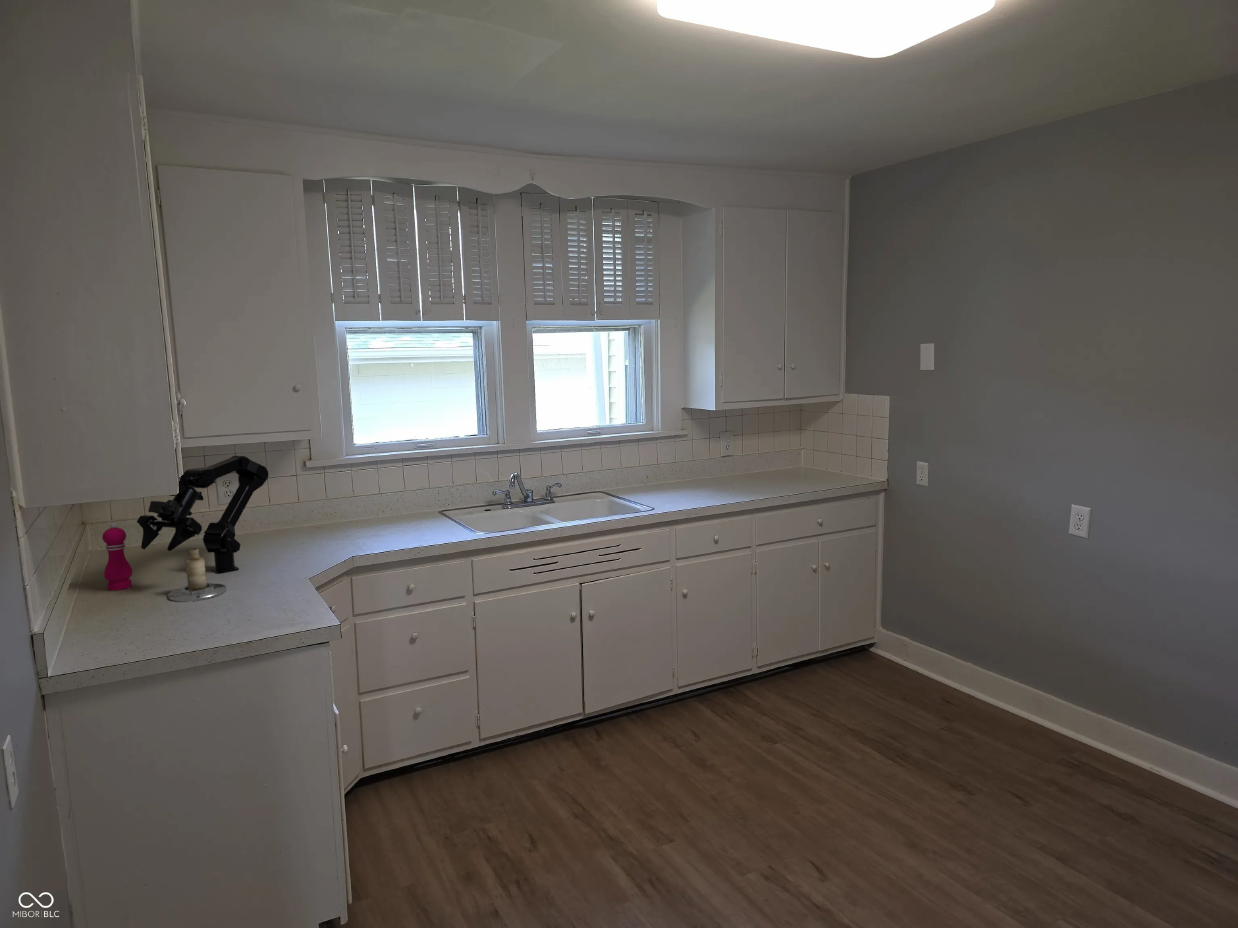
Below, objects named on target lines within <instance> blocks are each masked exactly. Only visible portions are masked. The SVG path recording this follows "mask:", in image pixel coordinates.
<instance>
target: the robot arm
mask: <svg viewBox="0 0 1238 928" xmlns="http://www.w3.org/2000/svg"><path fill="white" fill-rule="evenodd" d="M233 472H235V474H236V475H238V477H237V479H238V486H237V489H236V490H235V492H234V493H233V495H232V497H231V499H230V500H229V502H228V505H227V506H226V507H225V510H224V512H223V513H222V515H221V517H220V519H219V520H218V521H217V522H211V521H210V522H209V524H208V526H207V528H206V529H205V530H204V532H203V534H204V535H203V537H202V542H203V544H204V546H205V549H206V551H207V553H213V556H214V567H212V568H211V571H212V572H215V573H217V574H222V573H229V572H232V571H237V570H239V567H238V566H236V564H235V553H237V552H239V551H240V550H241V543H240V542H239V541H238V540H237V539H235V538H236V529H235V527H236V525H237V523H238V521H239V519H240V517H241V515H242V514H243V512H244V510H245V509H246V507H247V505H248V503H249V502H250V499H251V497H252V496H253V494H254V493H255V491H257V490H258V489H260V488H262V487H263V485H264V484H265V483H266V482H267V480H268V478H269V471H268V469H267V467H266V466H265V465H262V464H261V463H259V462H256V461H253V460H252V459H250V458H248V457H247V456H245V455H233V456H231V457H230V458H226V459H223V460H221V461H219V462H216V463H213V464H211V465H208V466H206V467H195V468H190V469H189V468H188V469H186V470H185V471H184V472H183V475H182V474H181V475H182V476H181V478H180V481H179V493H178V494H177V495H169V496H170V497H173V498H172V499H167V501H161V500H159V501H158V500H151V501H150V502H149V506H148V511H147V512H148V513H154V514H157V515H156V516H157V517H158V518H159V519H158V518H157V517H155V516H154V515H147V514H142V515H139V517H138V519H137V521H136V523H138V525H139V526H140V527H141V528H142V539H141V544H140V545H141V546H140V548H141V550H146V549H147V548H148V547H149V546H150V545H151V544H152V542H154V541H155V540H156V538H158V536H159V535H160V533H159V532H161V531H162V530H163V528H171V529H174V530H175V531H174V534H173V536H172V538H171V539H170V541H169V543H168V546H167V548H166V550H167V551H169V552H172V551H173V550H174V549H176V548H177V547H178V546H180V545H181V544H183V543H185V542H186V541H188V540H189V539H191V538H195V536H196V535H197V536H199V535H200V534H201V533H202V531H203V526H202V524H200V522H198V521H197V519H195V518H194V517H191V516H192V515H193V512H192V509H193V506H195V505H194V504H196V502H197V501H204V496H203V493H202V491H198V490H197V489H207V488H209V487H211V486H212V485H213V484H214V483H215V482H216V480H217V479H219V478H221V477H223V476H226V475H228V474H231V473H233ZM160 519H161V520H160Z"/></svg>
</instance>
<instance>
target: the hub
mask: <svg viewBox="0 0 1238 928" xmlns="http://www.w3.org/2000/svg"><path fill="white" fill-rule="evenodd" d="M206 584H207V588H205V589H201V590H194V591H190V590H188V584H187V585H185V586H182V587H179V588H177V589H174V590H172V591H171V592H169V593H168V595H167V596H168V600H170V601H171V600H172V602H176V601H178V602H179V603H185V602H186V603H188V602H187V601H192V602H198V601H199V600H200V601H204V600H209V599H214V598H216V597H219V596H221V595H223V594H225V593H226V592H227V586H226V584H222V583H214V582H213V583H212V582H206ZM224 592H225V593H224Z"/></svg>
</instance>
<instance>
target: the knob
mask: <svg viewBox="0 0 1238 928" xmlns="http://www.w3.org/2000/svg"><path fill="white" fill-rule="evenodd" d="M188 551H189V558H188V559H186V560H185V569H186V570H185V571H186V578H187V580H186V581H187V585H188V590H190V591H194V590H201V589H205V588H207V584H206V583H207V574H206V564H205V558H204V557H200V549H199V548H191V549H189V550H188Z"/></svg>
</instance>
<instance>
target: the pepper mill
mask: <svg viewBox="0 0 1238 928" xmlns="http://www.w3.org/2000/svg"><path fill="white" fill-rule="evenodd" d="M101 539H102V541H103V542H104V543H105V545H104V546H105V550H106V551H107V555H108V559H107V564H106V566H105V569H104V572H103V576H104V577H103V578H104V579H105V580H106V581H108V582H107V584H106V587H107V590H108V591H122V590H126V588H127V589H129V588H132V586H133V581H132V579H130V578H131V577H132V575H133V573H134V572H133V568H132V566H131V564H130V563H129V562H128V560H127V558H126V556H125V548H126V543H125V541H126V539H127V534H126V531H125V530H124V529H122V528H121V527H118V526H117V523H115V522H111V523H110V524H109V528H108V529H107V528H106V530H104V531H103V533H102V538H101Z"/></svg>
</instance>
